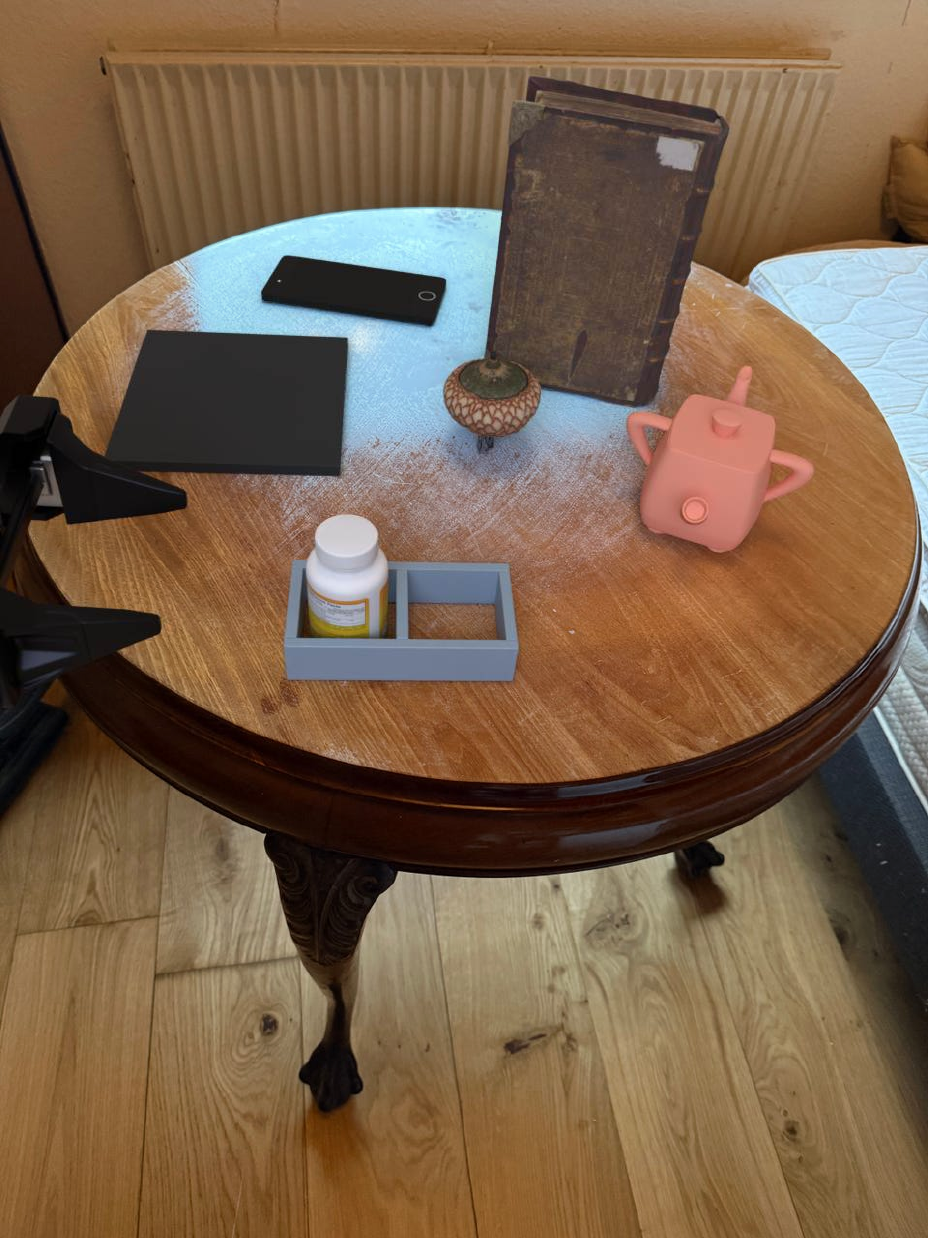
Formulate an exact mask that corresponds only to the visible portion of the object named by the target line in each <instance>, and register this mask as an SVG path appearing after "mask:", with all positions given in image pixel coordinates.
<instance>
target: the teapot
mask: <svg viewBox="0 0 928 1238" xmlns="http://www.w3.org/2000/svg"><path fill="white" fill-rule="evenodd" d="M753 373H754V371H753V368H752V366H750V365H744V366H742V368H741V369H739V371H738V372H737V374H736V377H735V378H734V382H733V384H732V386H731V388H730V390H729V391H728V393H727V395H726V397H725V398H724V400H722V399H718V398H714V397H712V396H711V397H710V396H707V395H703V394H698V393H695V394H691V395H690V396H688V397H687V398H686V399H685V400H684V402H683V403H682V405H681V406H680V408H679V409H678V410H677V412H676V414H675V415H674V417H673V418H669V417H667V416H664V415H661V414H659V413H658V414H657V413H654V412H650V411H643V410H636V411H633V412H630V414H628V416H627V418H626V420H625V426H626V427H625V428H626V431H627V435H628V438H629V440H630V442H631V444H632V445H633V447H634V449H635V450H636V452H637V454H638V455H639V457H640V459H642V461H643V463H644V464H645V465H646V467H647V468H646V472H645V476H644V479H643V482H642V485H641V491H640V497H639V514H640V518H641V519H640V520H641V523H643V525H644V526H646V527H647V529H648V530H649V531H651V532H652V533H654V534H667V535H670V536H673V537H675V538H679V539H682V540H685V541H688V542H692V543H694V544H698V545H702V546H705V547H706V548H707V549H709V550H710V551H711V552H715V553H720V554H721V553H726V552H731V551H732V550H734V549H736V548H737V547H738V546H739V545H740V544H741V543H742V542H744V540H745V538H746V537H747V536H748V534H749V533H750V532H751V530H752V529H753V526H754V524H755V523H756V521H757V519H758V518H759V515H760V513H761V509H762V507H763V504H764V503H767V502H770V501H773V500H775V499H778V498H780V497H782V496H785V495H787V494H790V493H792V492H794V491H796V490H799V489H800V488H802V487H803V486H805V485H806V484H807V483H808V482H809V481H810V480H811V479H812V478H813V476H814V474H815V467H814V465H813V463H812V462H811V461H809V460H808V459H806V458H804V457H802V456H800V455H797V454H794V453H790V452H787V451H783V450H779V449H775V439H776V438H775V437H776V420H775V418H774V417H773V416H772V415H770V414H768V413H765V412H762V411H759V410H757V409H753V408H750V407H747V406H746V403H747V397H748V392H749V387H750V385H751V381H752V378H753ZM645 427H649V428H653V429H658V430H661V431H664V433H663V435H662V436H661V438H660V440H659V442H658V444H657V446H656V448H655V449H654V451H653V450H652V448H651V446H650V444H649V442H648V439H647V436H646V432H645ZM773 464H776V465H780V466H783V467H785V468H787V469H790V470H791V473H790V474H788V475H787V476H786V477H785V478H784V479H782V480H780V481H779V482H777V483H775V484H773V485H772V486H769V483H770V480H771V479H770V478H771V474H772V467H773Z"/></svg>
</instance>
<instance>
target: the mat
mask: <svg viewBox="0 0 928 1238" xmlns="http://www.w3.org/2000/svg"><path fill="white" fill-rule="evenodd" d="M348 348H349V338H348V337H346V336H345V337H343V336H320V335H293V334H292V335H291V334H290V335H289V334H270V333H269V334H268V333H266V334H265V333H244V332H243V333H242V332H219V331H218V332H215V331H193V330H191V331H189V330H167V329H165V330H164V329H147V330H146V332H145V336H144V338H143V341H142V344H141V346H140V350H139V353H138V355H137V359H136V362H135V365H134V368H133V371H132V373H131V376H130V379H129V382H128V385H127V388H126V391H125V395H124V397H123V400H122V403H121V406H120V409H119V412H118V415H117V418H116V421H115V424H114V427H113V430H112V433H111V436H110V438H109V441H108V444H107V448H106V450H105V453H104V455H103V456H104V457H106V458H108V459H110V460H112V461H115V462H117V463H119V464H122V465H124V466H126V467H129V468H132V469H134V470H137V471H139V472H169V473H170V472H171V473H175V472H176V473H206V474H207V473H208V474H209V473H210V474H250V475H252V474H253V475H254V474H255V475H286V476H287V475H290V476H325V477H326V476H329V477H340V476H341V465H342V464H341V463H342V449H343V448H342V447H343V431H344V415H345V399H346V398H345V397H346V385H347V384H346V382H347V368H348V367H347V366H348V352H349V351H348V350H349V349H348Z"/></svg>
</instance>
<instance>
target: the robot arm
mask: <svg viewBox="0 0 928 1238" xmlns="http://www.w3.org/2000/svg"><path fill="white" fill-rule="evenodd" d="M104 456H105V455H102V454H100V453H98V452H96V451H94V450H92V449H91V448H90V447H88V446H87V445H86V444H85V443H84V442H83V441H82V440H81V438H79V437H78V436H77V435H76V433H75V432H74V428H73V424H72V421H71V419H70V418H69V417H68V416H67V415H65V414H63V413H62V410H61V405H60V401H59V399H58V398H56V397H53V396H42V395H41V396H40V395H38V396H37V395H26V394H18V395H17V396H16V397H15V398H14V399H12V401H10V402H9V403H8V404H7V405H6V406H5V407H4V409H3V412H2V413H1V416H0V705H1V707H2V708H3V709H10V708H16V707H17V705H18V703H19V701H20V698H21V697H22V696H23V695H24V694H26V693H28V692H30V691H32V690H34V689H36V688H39V687H40V686H42V685H44V684H46V683H48V682H50V681H53V680H55V679H57V678H59V677H61V676H63V675H64V674H67V673H69V672H70V671H72V670H75V669H77V668H80V667H82V666H84V665H87V664H90V663H91V662H93V661H94V662H95V661H96V660H99V659H100V658H104V657H106V656H109V655H111V654H113V653H115V652H118V651H121V650H123V649H126V648H128V647H131V646H134V645H136V644H139V643H141V642H144V641H147V640H148V639H152V638H154V637H156V636H158V635H160V634H161V632H162V628H163V625H162V618H161V616H160V615H159V614H157V613H152V612H147V611H141V610H133V609H127V608H126V609H125V608H114V607H113V608H111V607H96V606H93V607H92V606H82V605H81V606H80V605H67V604H66V605H65V604H51V603H39V602H36V601H33V600H31V599H29V598H27V597H26V596H25V597H24V596H23V595H20V594H18V593H16V592H14V591H12V590H11V589H8V588H7V586H8V584H9V581H10V578H11V576H12V573H13V570H14V567H15V565H16V563H17V559H18V556H19V554H20V551H21V549H22V546H23V543H24V541H25V538H26V535H27V532H28V529H29V527H30V524H31V522H32V521H35V522H36V521H39V522H48V521H51V520H52V519H55V518H56V517H59V516H61V515H62V514H64V518H65V523H66V525H69V526H71V525H80V524H88V523H95V522H103V521H112V520H119V519H120V520H121V519H129V518H137V517H145V516H155V515H162V514H166V513H171V512H175V511H180V510H186V509H187V507H188V505H189V504H188V503H189V500H188V493H187V490H185V489H183V488H181V487H179V486H176V485H174V484H171V483H169V482H166V481H164V480H161V479H159V478H156V477H154V476H151V475H149V474H146V473H144V472H143V471H137V470H134V469H132V468H129V467H126V466H124V465H122V464H119V463H117V462H115V461H112V460H110V459H108V458H106V457H104Z"/></svg>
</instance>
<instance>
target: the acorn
mask: <svg viewBox="0 0 928 1238" xmlns="http://www.w3.org/2000/svg"><path fill="white" fill-rule="evenodd" d="M490 355H491V356H490V358H488V359H484V358H477V359H471V360H469V361H466V362H463V363H462V364H460V365H458V366H457V367H455V369H453V371H451V373H449V374H448V376H447V378H446V379H445V382H444V383H443V387H442V388H443V389H442V395H443V396H442V398H443V404H444V406H445V409H446V410H447V411H448V413H449V415H450V417H451V419H453V420H454V421H455V422H456V423H457V424H458V425H460V427H462V428H465V429H466V430H468V431H469V432H470V433H471V434H474V435H476V436H477V440H476V449H477V453H478V454H486V452H488V451H490V450H492V449H494V439H495V438H505V437H507V436H509V437H510V436H512V435H515V434H518V433H519V432H520V431H521V430H522V429H524V428H525V427H526V425H528V423H529V422H530V420H531V419H532V418H533V417H534V416H535V414H536V412H537V410H538V408H539V406H540V403H541V398H542V388H541V386H540V384H539V382H538V380H537V379H536V378H535V377H534V376H533V375H532V373H531V372H530V371H529V370H527V369H526V368H524V367H523V366H521V365H520V364H519V363H516V362H513V361H510V360H504V359H499V358H496V357H497V354H496V350H493V351H492V352H491V354H490Z"/></svg>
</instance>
